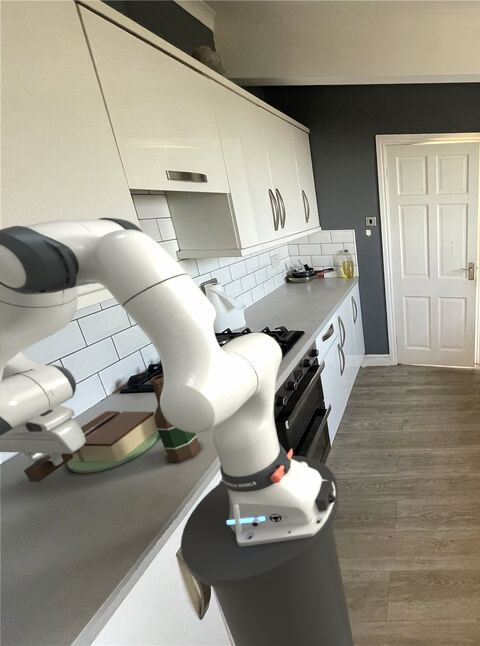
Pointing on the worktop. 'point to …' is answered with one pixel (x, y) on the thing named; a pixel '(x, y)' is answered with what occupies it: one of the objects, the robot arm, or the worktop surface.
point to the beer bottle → (173, 431)
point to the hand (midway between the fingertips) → (50, 463)
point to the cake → (117, 442)
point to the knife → (43, 466)
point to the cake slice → (89, 425)
